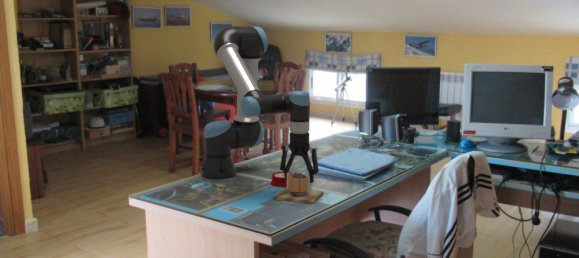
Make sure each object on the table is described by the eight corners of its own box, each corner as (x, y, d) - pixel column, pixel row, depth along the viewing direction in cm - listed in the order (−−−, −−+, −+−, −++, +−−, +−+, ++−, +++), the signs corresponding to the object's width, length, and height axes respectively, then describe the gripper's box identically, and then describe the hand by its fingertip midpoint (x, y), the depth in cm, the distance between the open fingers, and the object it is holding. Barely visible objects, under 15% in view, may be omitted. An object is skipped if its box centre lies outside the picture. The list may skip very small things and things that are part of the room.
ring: (286, 190, 222) (286, 178, 221) (293, 185, 229) (293, 173, 228) (305, 192, 219) (305, 180, 218) (311, 187, 226) (312, 175, 225)
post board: (273, 199, 222) (273, 176, 220) (285, 189, 233) (285, 167, 232) (312, 204, 216) (313, 180, 214) (323, 194, 228) (323, 171, 226)
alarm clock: (263, 176, 240) (285, 162, 250) (265, 189, 242) (287, 174, 253) (283, 181, 233) (304, 166, 244) (285, 194, 236) (306, 179, 246)
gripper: (270, 131, 220) (270, 189, 224) (322, 135, 212) (321, 195, 217) (278, 128, 227) (278, 184, 231) (328, 132, 219) (327, 189, 224)
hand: (299, 189), depth 224 cm, fingers closed on ring, 8 cm apart
